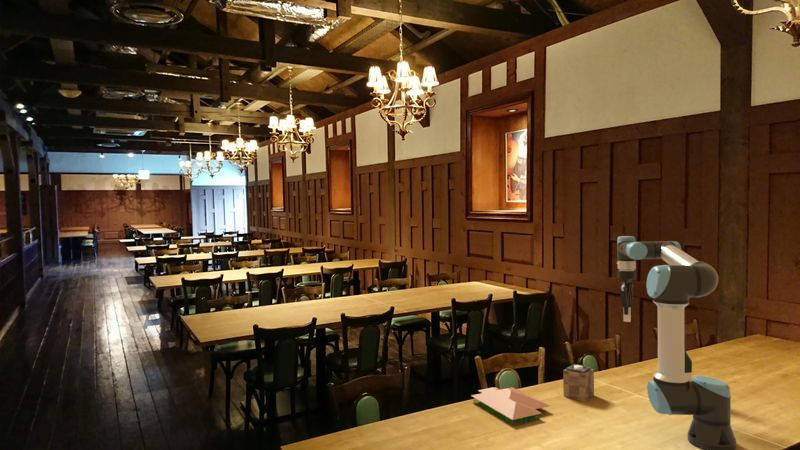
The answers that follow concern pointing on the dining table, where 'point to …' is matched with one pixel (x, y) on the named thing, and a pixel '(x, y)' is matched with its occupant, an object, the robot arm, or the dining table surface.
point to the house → (510, 403)
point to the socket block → (578, 383)
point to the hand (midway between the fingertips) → (627, 321)
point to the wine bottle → (687, 361)
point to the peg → (578, 367)
